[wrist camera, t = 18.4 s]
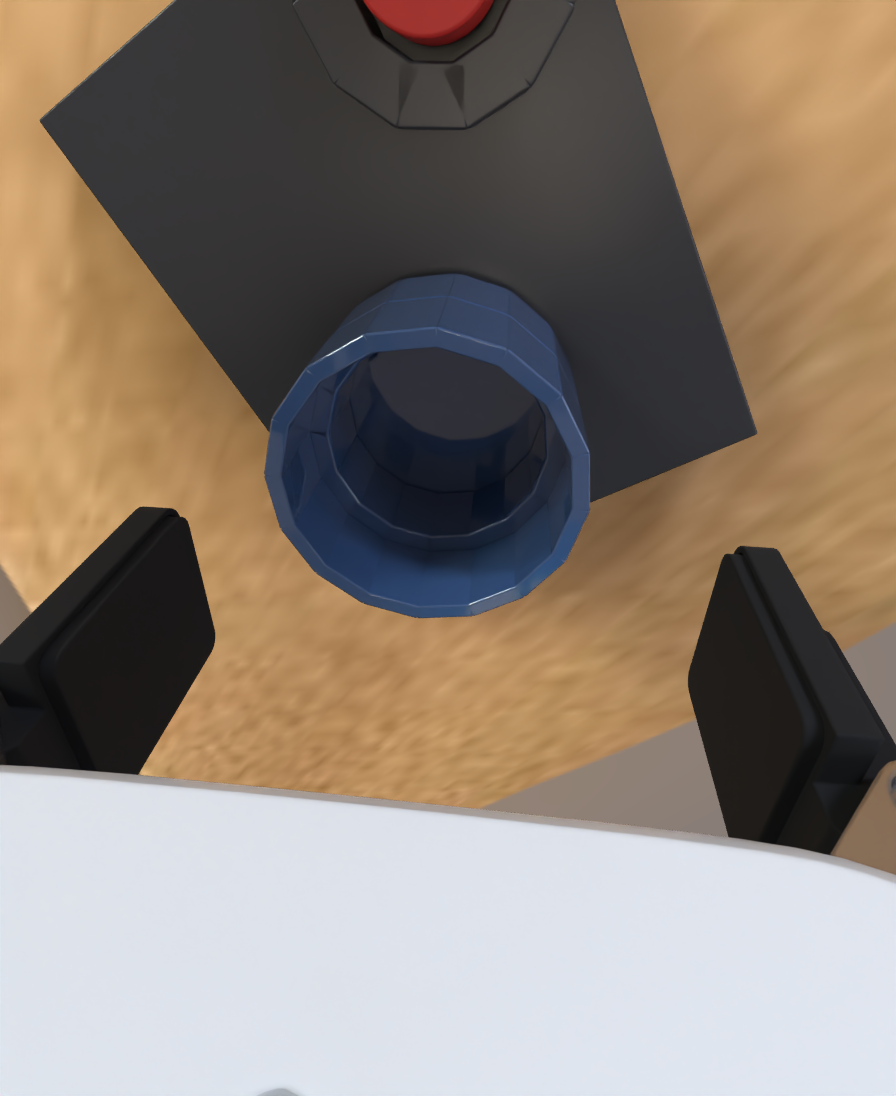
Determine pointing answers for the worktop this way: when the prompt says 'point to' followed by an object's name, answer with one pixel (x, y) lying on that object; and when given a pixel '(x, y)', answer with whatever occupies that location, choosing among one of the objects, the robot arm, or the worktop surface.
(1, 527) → the worktop surface
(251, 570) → the worktop surface
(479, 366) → the cup
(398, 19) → the button
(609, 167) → the scale
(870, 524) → the worktop surface
